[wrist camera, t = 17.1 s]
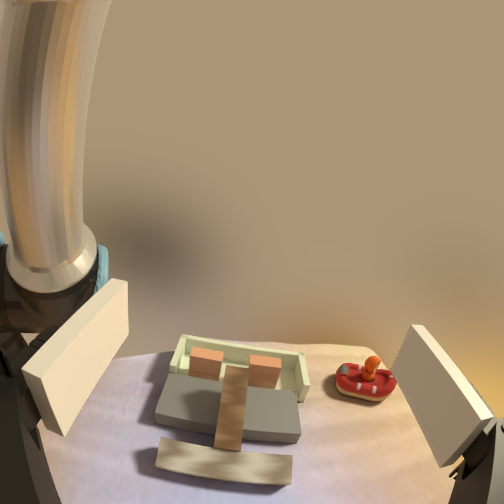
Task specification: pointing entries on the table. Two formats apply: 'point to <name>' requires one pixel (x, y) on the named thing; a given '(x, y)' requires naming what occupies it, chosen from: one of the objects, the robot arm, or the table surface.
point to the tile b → (263, 371)
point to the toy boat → (365, 380)
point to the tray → (246, 361)
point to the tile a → (205, 363)
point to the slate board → (208, 402)
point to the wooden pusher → (226, 445)
